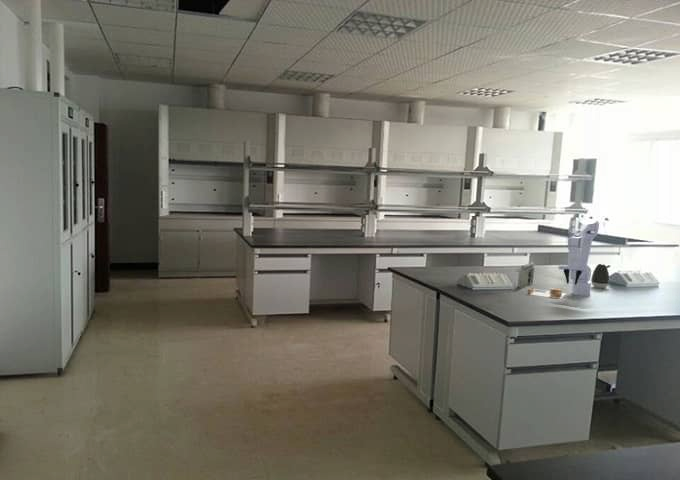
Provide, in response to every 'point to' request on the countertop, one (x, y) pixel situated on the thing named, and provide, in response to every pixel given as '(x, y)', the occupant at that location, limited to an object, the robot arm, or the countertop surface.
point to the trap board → (546, 294)
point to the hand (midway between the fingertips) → (571, 283)
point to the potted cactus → (600, 276)
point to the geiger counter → (526, 275)
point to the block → (556, 292)
